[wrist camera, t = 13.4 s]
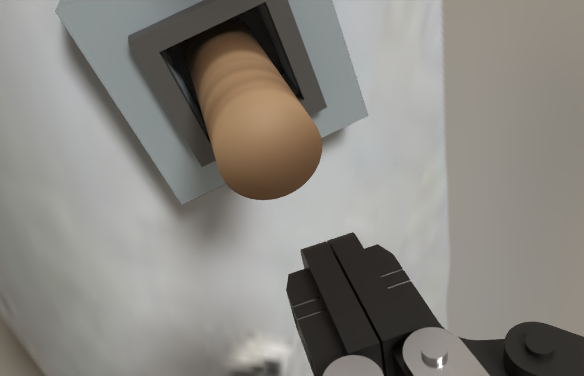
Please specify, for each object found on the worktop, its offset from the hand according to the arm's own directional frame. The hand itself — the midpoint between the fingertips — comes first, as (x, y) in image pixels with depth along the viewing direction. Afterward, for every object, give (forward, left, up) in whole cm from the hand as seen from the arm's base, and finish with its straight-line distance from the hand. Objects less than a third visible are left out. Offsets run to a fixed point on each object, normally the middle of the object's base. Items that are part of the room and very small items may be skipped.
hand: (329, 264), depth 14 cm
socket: (0, 0, -18) cm, 18 cm away
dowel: (0, 0, -18) cm, 18 cm away
